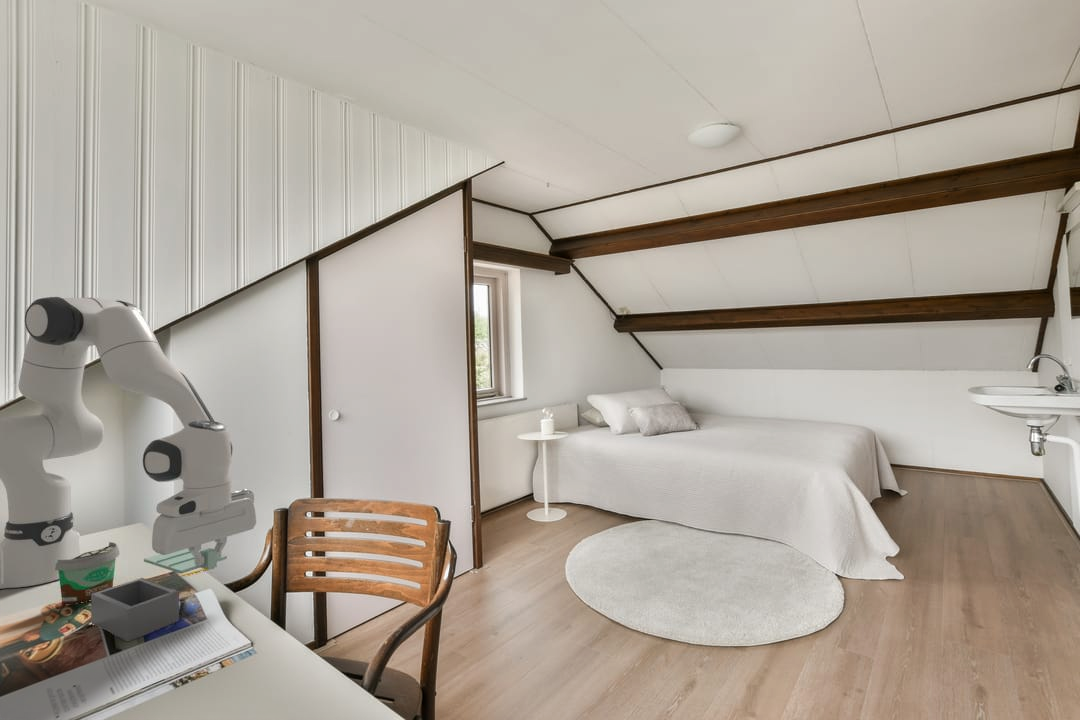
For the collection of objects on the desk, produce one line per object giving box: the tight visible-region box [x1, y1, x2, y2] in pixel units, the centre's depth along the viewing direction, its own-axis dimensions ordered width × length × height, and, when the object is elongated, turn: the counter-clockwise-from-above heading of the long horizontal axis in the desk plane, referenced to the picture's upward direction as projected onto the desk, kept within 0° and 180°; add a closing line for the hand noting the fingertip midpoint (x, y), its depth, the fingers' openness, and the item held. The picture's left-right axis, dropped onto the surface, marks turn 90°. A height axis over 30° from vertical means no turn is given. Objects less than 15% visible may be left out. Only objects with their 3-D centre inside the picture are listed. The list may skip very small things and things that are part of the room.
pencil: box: [180, 568, 215, 577], centre depth 129 cm, size 1×18×1 cm, turn 141°
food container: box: [55, 541, 120, 605], centre depth 120 cm, size 12×6×10 cm, turn 168°
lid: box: [143, 547, 228, 575], centre depth 119 cm, size 17×10×4 cm, turn 62°
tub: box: [90, 577, 180, 642], centre depth 108 cm, size 14×9×6 cm, turn 62°
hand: (208, 561), depth 116 cm, fingers closed on lid, 2 cm apart
